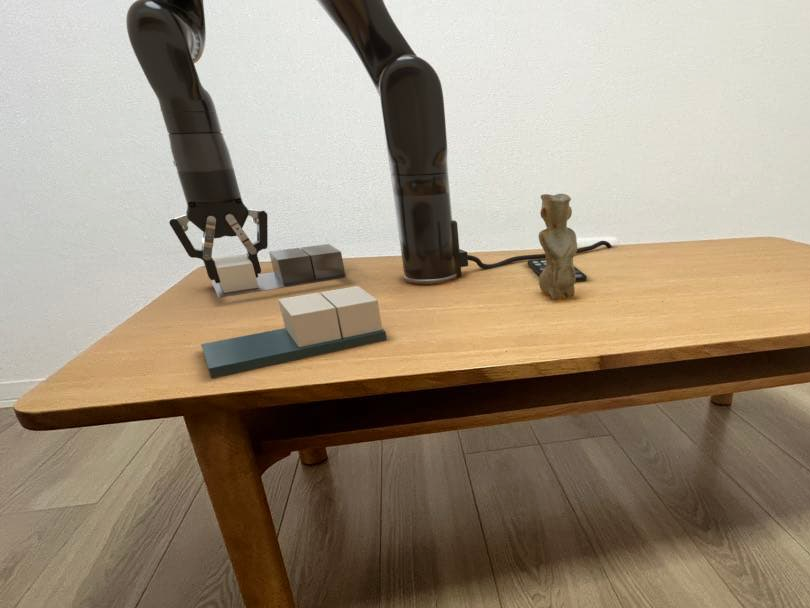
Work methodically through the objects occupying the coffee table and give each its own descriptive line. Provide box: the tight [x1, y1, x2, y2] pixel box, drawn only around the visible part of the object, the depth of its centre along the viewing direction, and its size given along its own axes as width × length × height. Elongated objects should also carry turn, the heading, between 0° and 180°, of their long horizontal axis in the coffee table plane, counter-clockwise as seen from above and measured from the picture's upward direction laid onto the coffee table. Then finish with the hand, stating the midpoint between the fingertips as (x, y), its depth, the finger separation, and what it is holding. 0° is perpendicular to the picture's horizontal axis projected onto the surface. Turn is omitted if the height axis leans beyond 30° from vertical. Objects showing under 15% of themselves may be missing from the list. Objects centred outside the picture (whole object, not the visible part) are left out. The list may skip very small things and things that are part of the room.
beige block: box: [212, 253, 259, 293], centre depth 88 cm, size 5×8×4 cm, turn 34°
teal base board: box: [200, 285, 388, 379], centre depth 66 cm, size 20×9×5 cm, turn 124°
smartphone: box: [526, 259, 588, 282], centre depth 98 cm, size 7×1×15 cm
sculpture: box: [538, 193, 578, 300], centre depth 82 cm, size 6×7×15 cm
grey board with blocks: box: [210, 243, 349, 299], centre depth 92 cm, size 20×12×5 cm, turn 124°
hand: (236, 278), depth 89 cm, fingers closed on beige block, 5 cm apart
